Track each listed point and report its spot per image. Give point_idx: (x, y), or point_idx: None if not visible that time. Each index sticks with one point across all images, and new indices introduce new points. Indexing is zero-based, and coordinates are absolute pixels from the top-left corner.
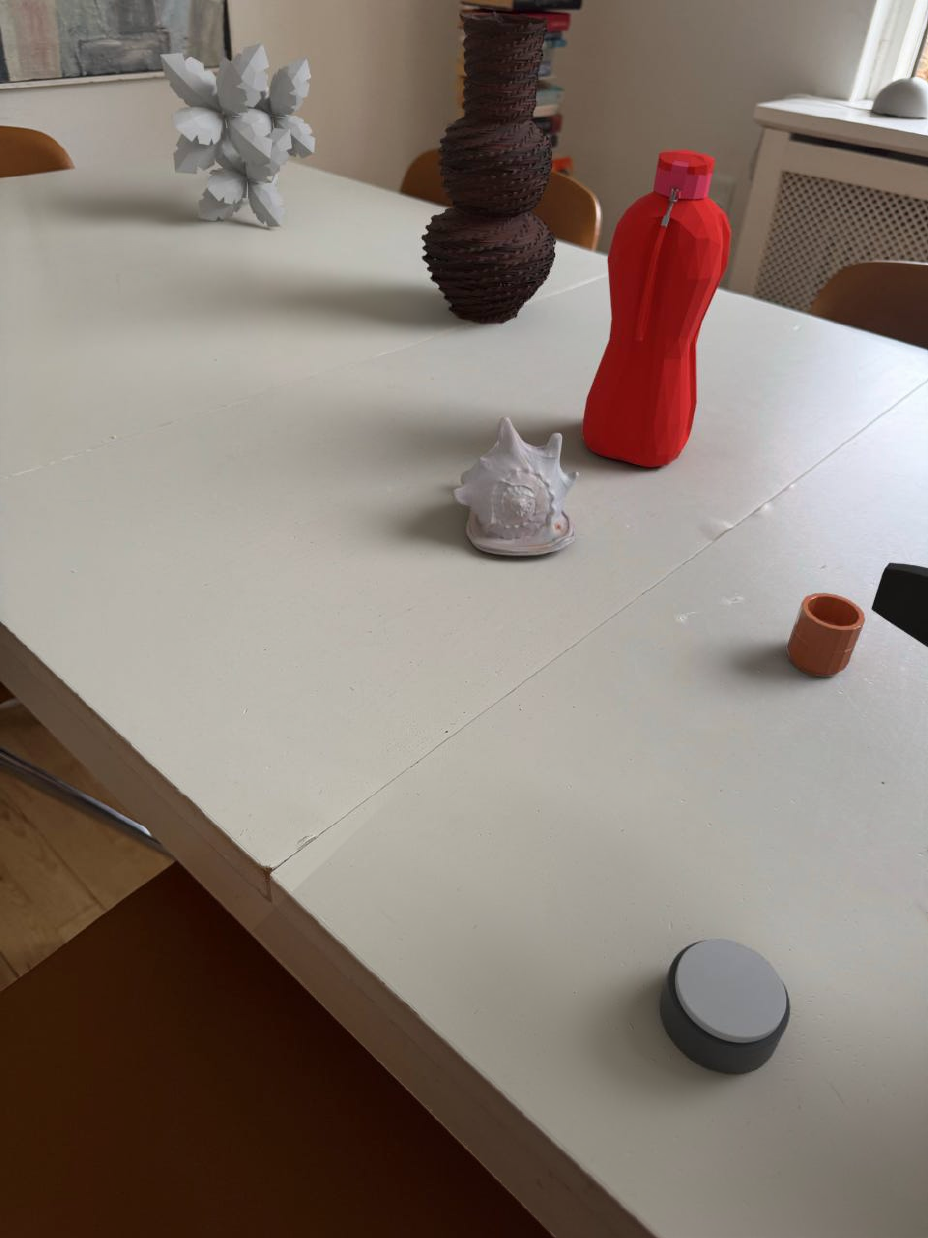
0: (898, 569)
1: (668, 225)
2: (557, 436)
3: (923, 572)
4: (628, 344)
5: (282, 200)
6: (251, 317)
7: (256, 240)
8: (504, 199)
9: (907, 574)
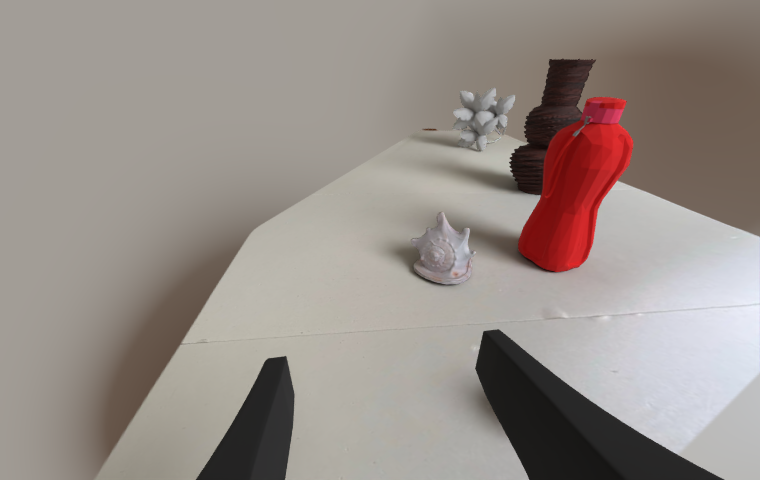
0: (264, 367)
1: (578, 136)
2: (466, 229)
3: (259, 389)
4: (546, 200)
5: (486, 142)
6: (437, 172)
7: (469, 153)
8: (547, 139)
9: (256, 379)
